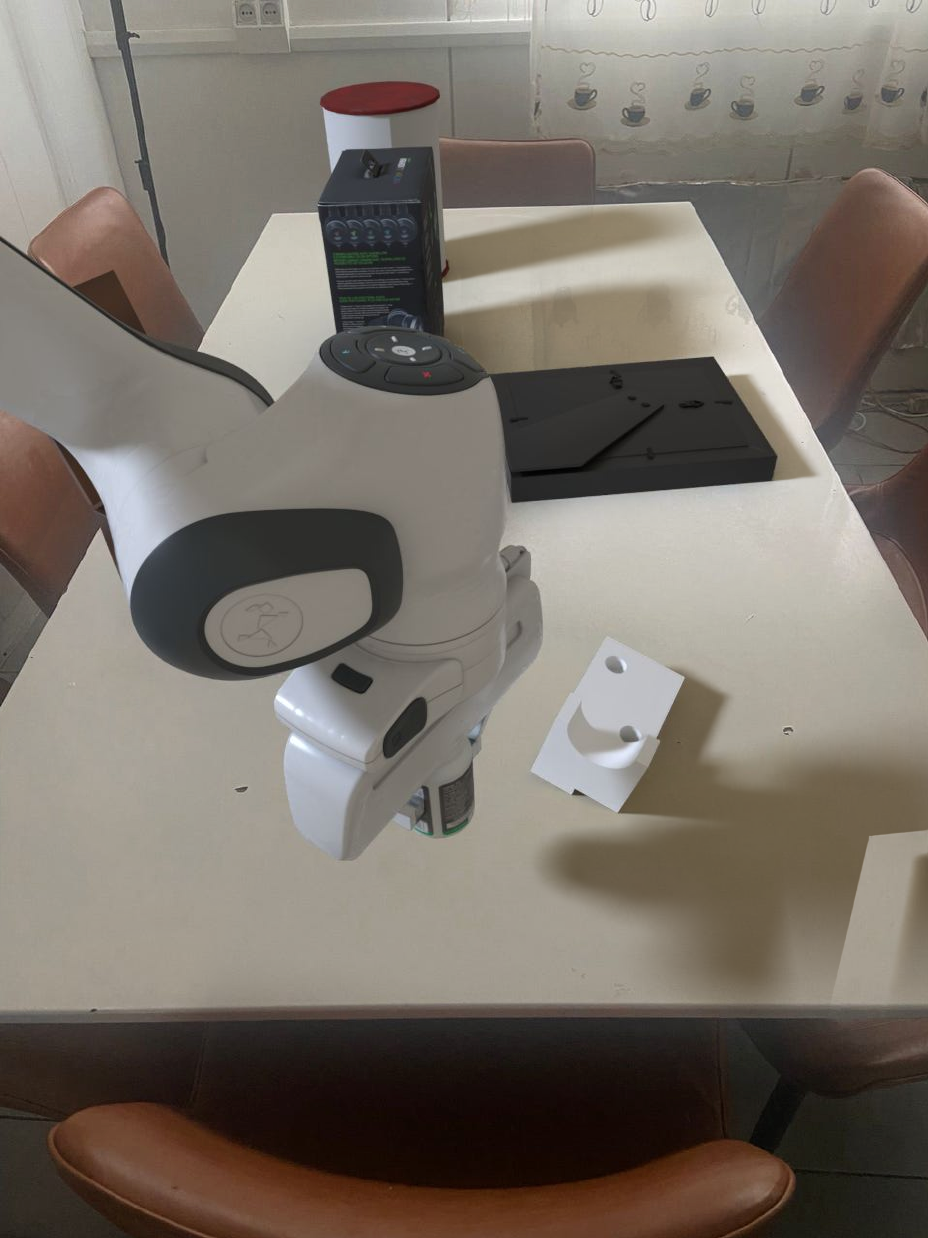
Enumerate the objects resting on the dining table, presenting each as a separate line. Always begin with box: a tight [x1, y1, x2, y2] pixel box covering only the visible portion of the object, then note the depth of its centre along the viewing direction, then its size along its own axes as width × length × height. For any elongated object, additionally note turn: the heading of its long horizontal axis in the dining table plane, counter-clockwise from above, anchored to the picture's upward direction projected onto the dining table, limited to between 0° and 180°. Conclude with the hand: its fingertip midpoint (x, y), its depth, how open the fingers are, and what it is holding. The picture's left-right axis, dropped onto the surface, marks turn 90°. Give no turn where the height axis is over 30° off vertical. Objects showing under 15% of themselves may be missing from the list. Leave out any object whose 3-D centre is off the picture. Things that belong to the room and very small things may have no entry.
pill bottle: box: [412, 735, 476, 839], centre depth 56 cm, size 5×5×8 cm
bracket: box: [530, 635, 686, 814], centre depth 68 cm, size 13×7×8 cm, turn 152°
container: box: [319, 80, 450, 278], centre depth 136 cm, size 17×17×25 cm
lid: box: [46, 269, 148, 507], centre depth 78 cm, size 16×13×1 cm
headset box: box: [316, 146, 445, 338], centre depth 111 cm, size 22×12×26 cm, turn 178°
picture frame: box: [488, 355, 779, 503], centre depth 103 cm, size 23×4×28 cm
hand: (436, 785), depth 57 cm, fingers closed on pill bottle, 5 cm apart
